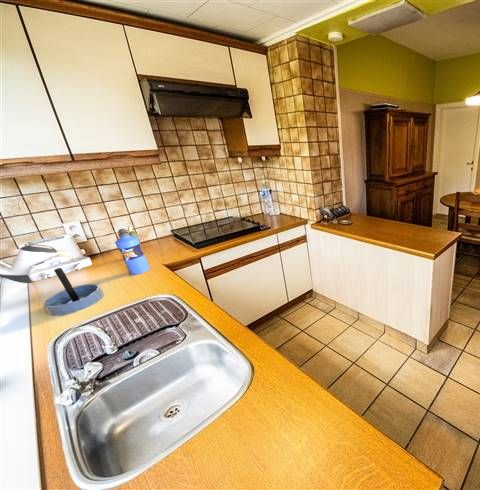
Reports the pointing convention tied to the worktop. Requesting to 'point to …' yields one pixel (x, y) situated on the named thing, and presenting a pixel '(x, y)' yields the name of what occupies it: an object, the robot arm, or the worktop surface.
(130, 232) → the vegetable
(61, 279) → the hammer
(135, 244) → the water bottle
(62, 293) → the blue grey round bowl
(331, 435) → the worktop surface
